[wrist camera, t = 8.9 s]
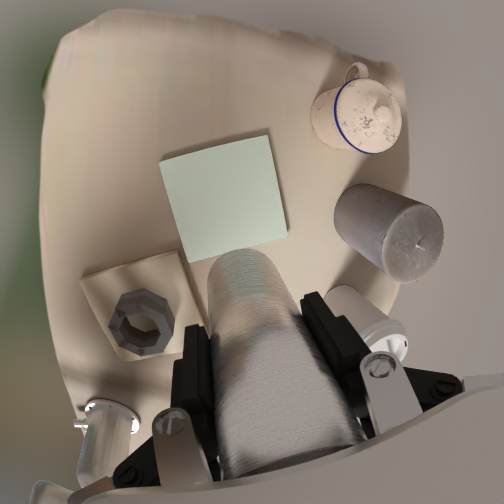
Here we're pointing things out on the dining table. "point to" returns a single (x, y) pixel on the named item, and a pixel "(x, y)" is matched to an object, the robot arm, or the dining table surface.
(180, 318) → the block
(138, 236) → the dining table surface
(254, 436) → the steel peg
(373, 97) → the teacup with lid
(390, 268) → the pillar candle
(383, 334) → the coffee cup
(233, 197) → the sage pad
